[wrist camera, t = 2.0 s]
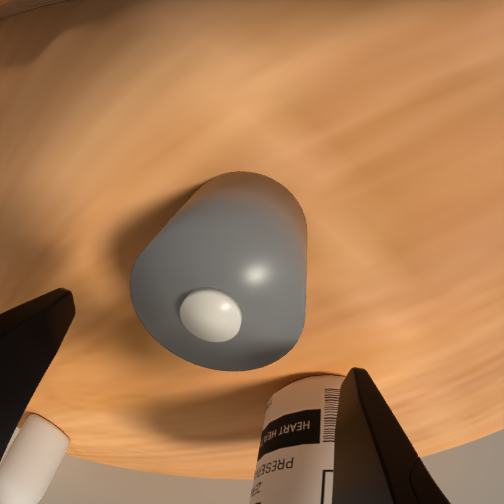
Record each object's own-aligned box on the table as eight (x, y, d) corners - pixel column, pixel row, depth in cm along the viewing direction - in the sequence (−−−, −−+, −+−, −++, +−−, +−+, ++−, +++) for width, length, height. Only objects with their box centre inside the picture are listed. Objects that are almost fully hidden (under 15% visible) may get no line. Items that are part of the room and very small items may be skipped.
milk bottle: (28, 405, 35) (-28, 504, 17) (71, 434, 36) (21, 539, 18) (32, 421, 38) (-16, 508, 21) (70, 446, 39) (27, 537, 22)
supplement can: (375, 425, 22) (376, 595, 9) (277, 431, 24) (249, 595, 11) (382, 362, 19) (396, 598, 6) (256, 373, 21) (208, 594, 8)
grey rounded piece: (322, 189, 14) (330, 264, 9) (289, 295, 17) (278, 393, 12) (191, 159, 14) (121, 214, 9) (180, 267, 17) (130, 352, 12)
